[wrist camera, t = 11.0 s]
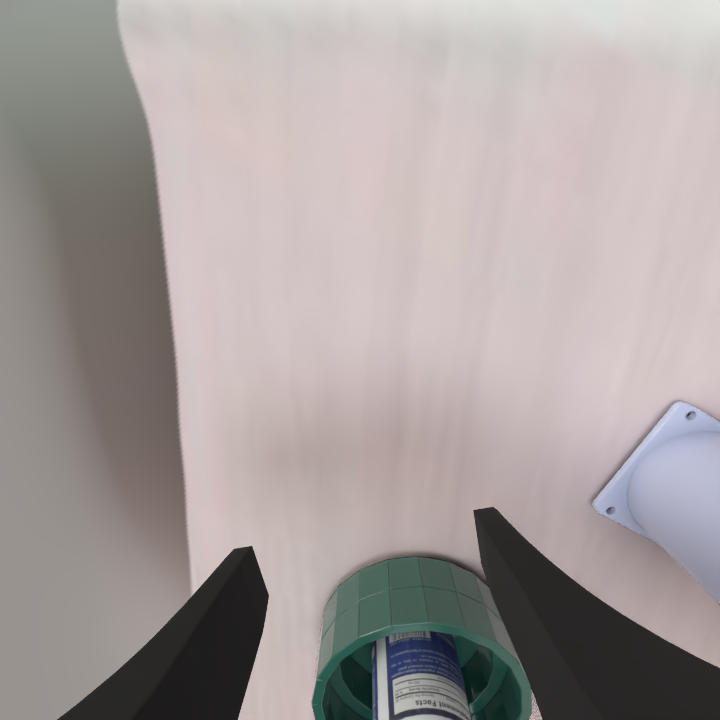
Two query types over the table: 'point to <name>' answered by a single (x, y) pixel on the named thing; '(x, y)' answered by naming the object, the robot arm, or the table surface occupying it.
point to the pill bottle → (417, 678)
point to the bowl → (415, 614)
